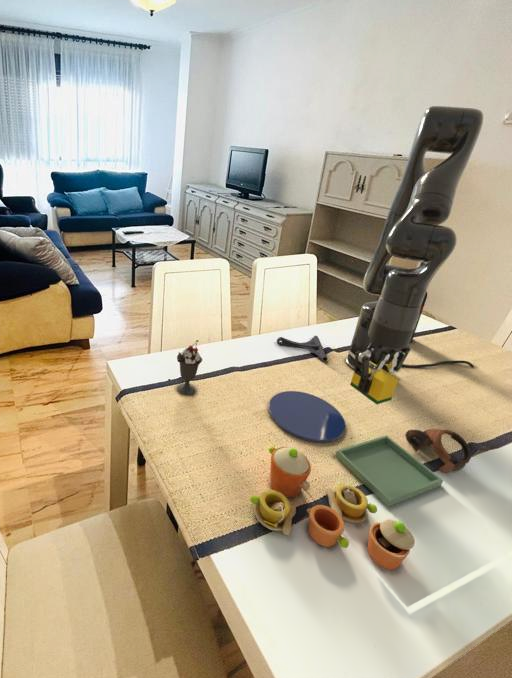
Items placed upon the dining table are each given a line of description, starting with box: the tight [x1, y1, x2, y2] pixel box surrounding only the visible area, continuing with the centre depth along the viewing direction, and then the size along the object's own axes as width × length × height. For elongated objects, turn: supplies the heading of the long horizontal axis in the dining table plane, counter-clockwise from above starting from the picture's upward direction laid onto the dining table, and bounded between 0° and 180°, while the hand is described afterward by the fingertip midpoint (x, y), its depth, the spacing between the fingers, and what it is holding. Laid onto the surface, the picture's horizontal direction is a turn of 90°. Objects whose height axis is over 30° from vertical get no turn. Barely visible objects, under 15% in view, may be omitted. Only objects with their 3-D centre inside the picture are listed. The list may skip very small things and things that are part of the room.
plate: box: [268, 390, 346, 444], centre depth 96 cm, size 18×18×1 cm
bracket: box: [276, 335, 329, 362], centre depth 129 cm, size 14×15×3 cm
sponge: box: [349, 362, 399, 405], centre depth 84 cm, size 4×7×6 cm, turn 22°
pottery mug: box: [404, 427, 472, 473], centre depth 86 cm, size 12×10×8 cm
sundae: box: [176, 339, 203, 397], centre depth 102 cm, size 7×7×15 cm
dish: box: [334, 434, 444, 508], centre depth 82 cm, size 15×13×2 cm
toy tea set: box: [250, 446, 416, 571], centre depth 70 cm, size 26×16×10 cm, turn 67°
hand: (371, 388), depth 85 cm, fingers closed on sponge, 4 cm apart
